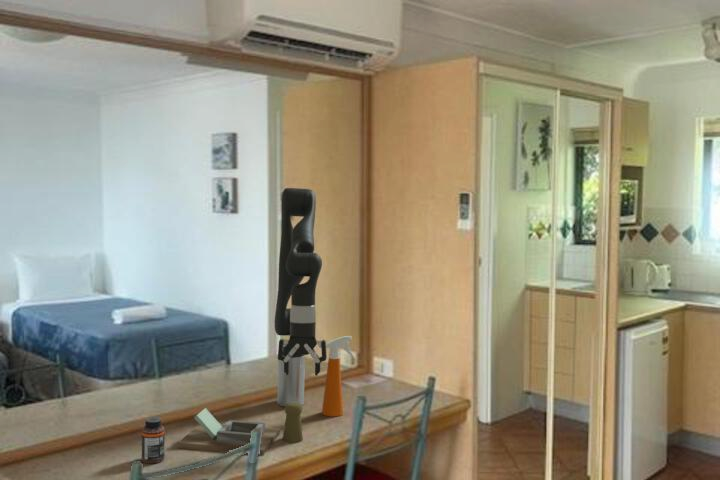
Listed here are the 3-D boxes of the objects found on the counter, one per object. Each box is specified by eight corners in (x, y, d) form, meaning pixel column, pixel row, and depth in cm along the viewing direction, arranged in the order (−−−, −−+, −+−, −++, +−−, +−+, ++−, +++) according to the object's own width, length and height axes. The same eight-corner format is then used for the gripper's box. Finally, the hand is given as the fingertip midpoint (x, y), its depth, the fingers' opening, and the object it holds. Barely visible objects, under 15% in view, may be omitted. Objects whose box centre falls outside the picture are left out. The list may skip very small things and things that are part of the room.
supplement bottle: (144, 455, 194) (144, 415, 193) (166, 455, 194) (166, 415, 194) (139, 464, 188) (139, 422, 187) (162, 464, 188) (162, 422, 188)
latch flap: (202, 410, 211) (205, 407, 211) (221, 431, 211) (224, 429, 210) (194, 417, 204) (196, 415, 204) (213, 439, 204) (216, 437, 204)
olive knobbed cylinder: (299, 443, 207) (300, 407, 206) (279, 441, 208) (280, 405, 207) (305, 436, 213) (306, 401, 212) (286, 434, 214) (286, 399, 213)
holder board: (201, 427, 218) (201, 412, 218) (279, 433, 215) (280, 418, 215) (178, 447, 201) (178, 432, 200) (263, 455, 197) (263, 439, 197)
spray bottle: (354, 417, 233) (357, 338, 231) (322, 416, 232) (324, 337, 230) (353, 410, 240) (355, 333, 238) (321, 410, 239) (323, 333, 237)
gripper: (327, 319, 212) (326, 372, 212) (280, 317, 212) (279, 371, 213) (325, 322, 205) (324, 378, 205) (277, 321, 205) (276, 376, 205)
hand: (301, 374), depth 209 cm, fingers open, 8 cm apart
